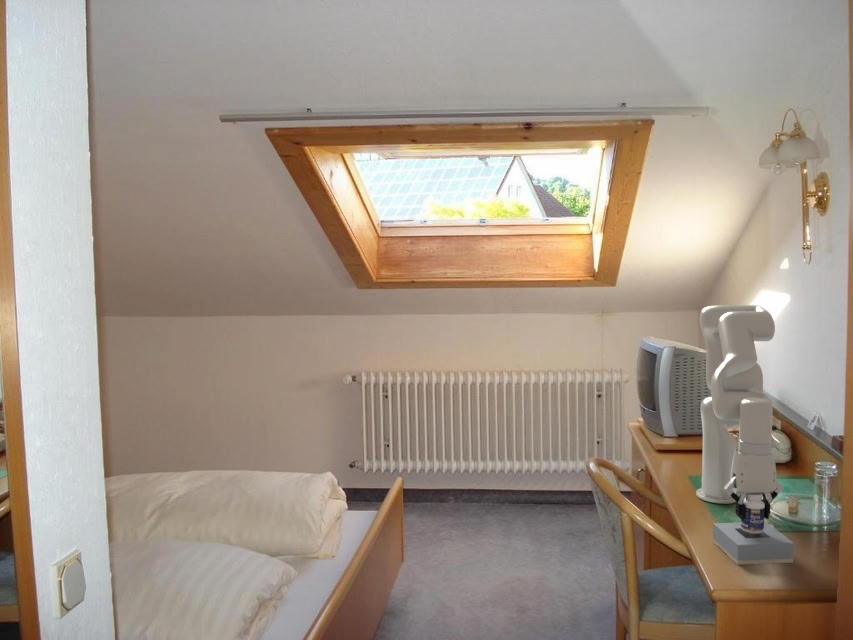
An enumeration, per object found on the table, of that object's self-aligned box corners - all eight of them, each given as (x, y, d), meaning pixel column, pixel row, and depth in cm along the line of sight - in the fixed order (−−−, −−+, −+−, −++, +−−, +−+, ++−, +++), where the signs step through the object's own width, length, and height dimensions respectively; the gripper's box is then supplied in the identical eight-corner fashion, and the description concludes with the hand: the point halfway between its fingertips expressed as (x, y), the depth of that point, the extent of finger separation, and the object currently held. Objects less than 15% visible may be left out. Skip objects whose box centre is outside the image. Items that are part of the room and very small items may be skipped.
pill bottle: (750, 535, 185) (751, 497, 184) (736, 527, 191) (737, 490, 190) (768, 532, 187) (769, 495, 186) (754, 524, 192) (755, 488, 191)
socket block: (712, 541, 196) (713, 523, 195) (764, 540, 197) (765, 521, 196) (737, 564, 182) (737, 545, 181) (793, 562, 183) (793, 543, 182)
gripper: (780, 442, 191) (778, 510, 193) (714, 444, 190) (713, 513, 192) (796, 450, 183) (793, 521, 185) (728, 452, 182) (726, 524, 184)
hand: (752, 516), depth 188 cm, fingers closed on pill bottle, 5 cm apart
